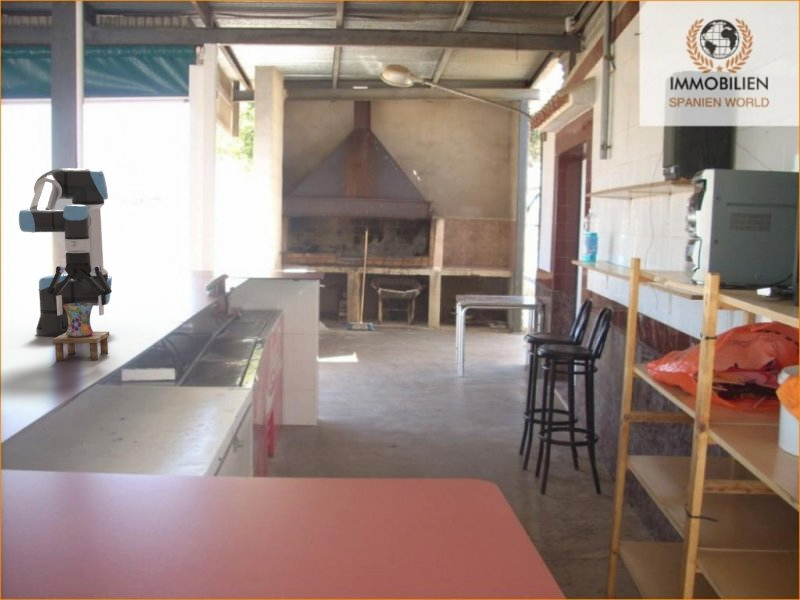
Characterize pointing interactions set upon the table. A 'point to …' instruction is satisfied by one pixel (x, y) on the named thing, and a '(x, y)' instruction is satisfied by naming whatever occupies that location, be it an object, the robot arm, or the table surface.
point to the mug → (78, 319)
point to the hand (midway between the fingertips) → (80, 314)
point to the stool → (91, 339)
